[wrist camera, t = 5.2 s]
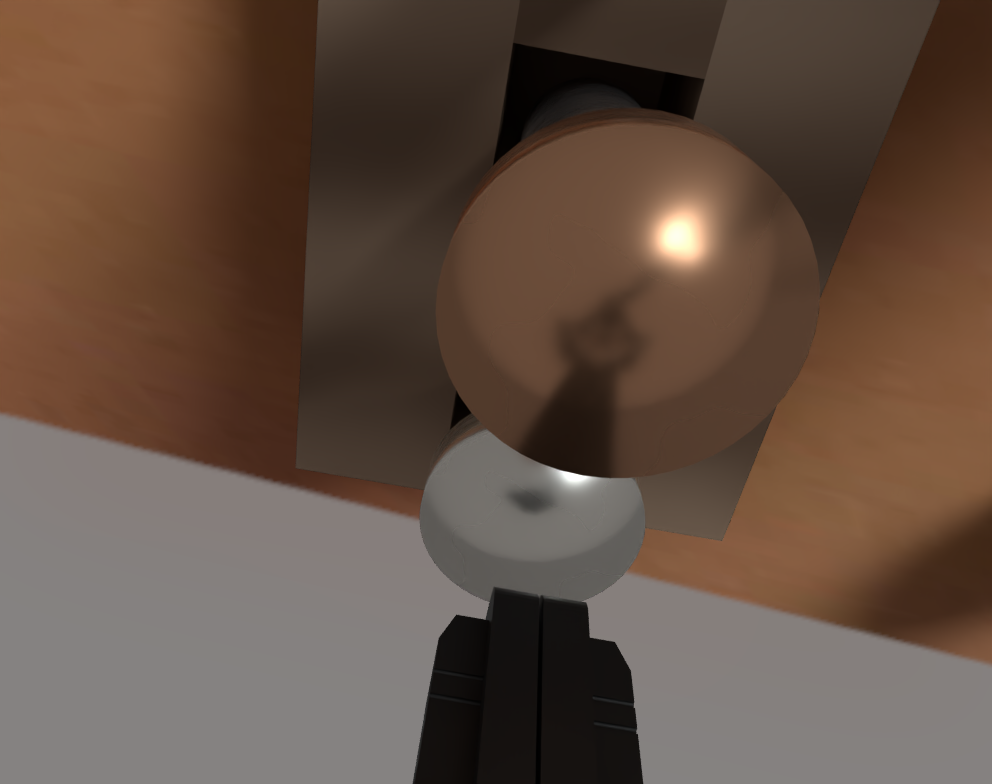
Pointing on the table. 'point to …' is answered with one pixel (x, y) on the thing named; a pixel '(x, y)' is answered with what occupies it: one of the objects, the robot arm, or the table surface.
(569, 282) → the copper and grey cylinder
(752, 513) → the table surface
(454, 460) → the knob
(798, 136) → the mount
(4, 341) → the table surface
